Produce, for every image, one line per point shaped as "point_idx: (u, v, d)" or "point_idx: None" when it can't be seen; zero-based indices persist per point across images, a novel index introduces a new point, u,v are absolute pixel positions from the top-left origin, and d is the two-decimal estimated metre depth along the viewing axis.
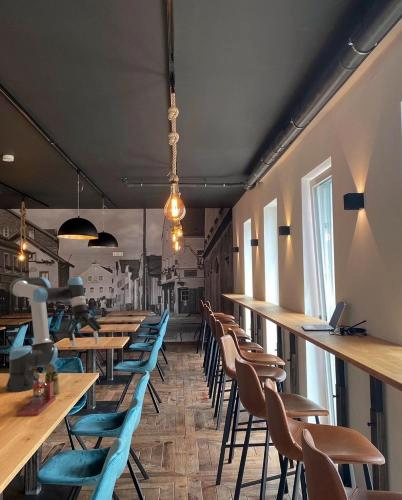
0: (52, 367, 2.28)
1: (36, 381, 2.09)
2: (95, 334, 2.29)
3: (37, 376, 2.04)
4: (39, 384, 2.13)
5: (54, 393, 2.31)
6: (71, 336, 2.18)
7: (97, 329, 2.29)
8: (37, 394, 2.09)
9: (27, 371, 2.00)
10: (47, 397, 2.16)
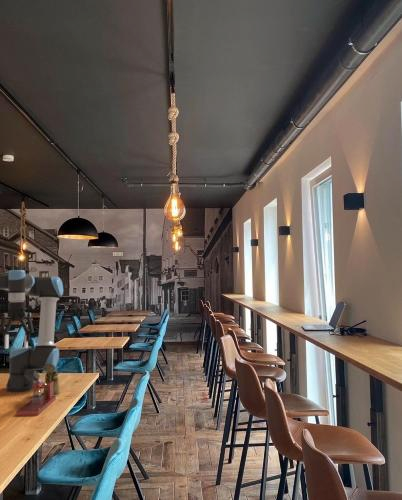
0: (52, 367, 2.28)
1: (36, 381, 2.09)
2: None
3: (37, 376, 2.04)
4: (39, 384, 2.13)
5: (54, 393, 2.31)
6: (4, 337, 2.07)
7: (26, 333, 2.07)
8: (37, 394, 2.09)
9: (27, 371, 2.00)
10: (47, 397, 2.16)
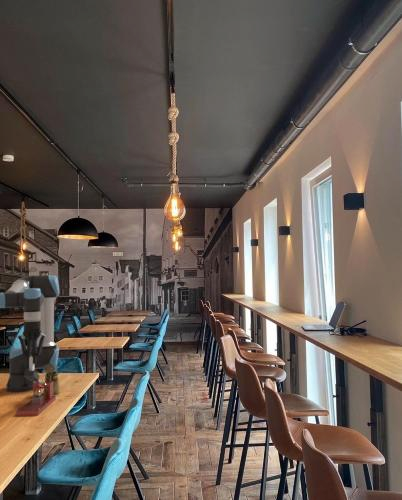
0: (52, 367, 2.28)
1: (36, 381, 2.09)
2: None
3: (37, 376, 2.04)
4: (39, 384, 2.13)
5: (54, 393, 2.31)
6: (28, 359, 2.03)
7: (33, 355, 2.02)
8: (37, 394, 2.09)
9: (27, 371, 2.00)
10: (47, 397, 2.16)
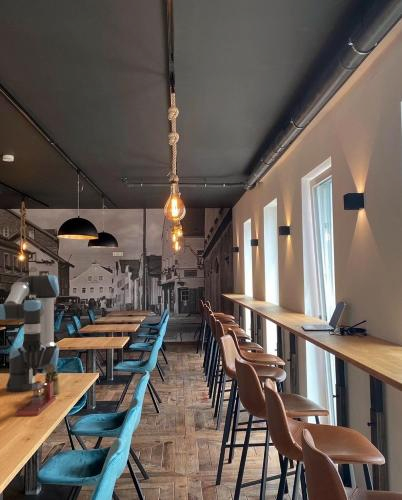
0: (52, 367, 2.28)
1: None
2: None
3: (36, 386, 2.02)
4: None
5: (54, 393, 2.31)
6: (28, 372, 2.02)
7: (33, 367, 2.02)
8: (37, 394, 2.09)
9: (25, 385, 1.97)
10: (47, 397, 2.16)
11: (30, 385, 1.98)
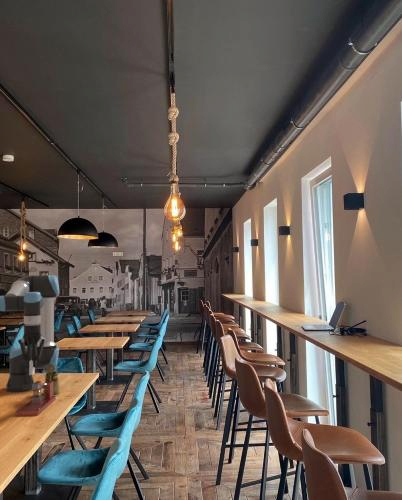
0: (52, 367, 2.28)
1: None
2: None
3: (36, 386, 2.02)
4: None
5: (54, 393, 2.31)
6: (28, 363, 2.03)
7: (33, 359, 2.03)
8: (37, 394, 2.09)
9: (25, 385, 1.97)
10: (47, 397, 2.16)
11: (30, 385, 1.97)
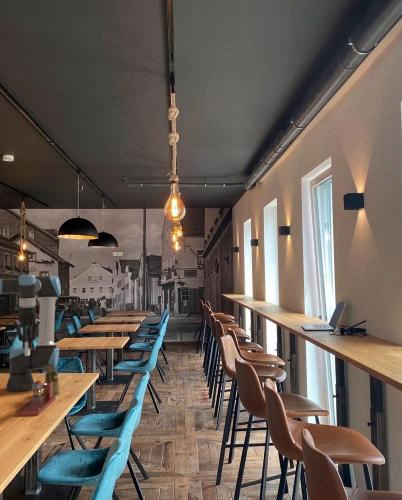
0: (52, 367, 2.28)
1: None
2: None
3: (36, 386, 2.02)
4: None
5: (54, 393, 2.31)
6: (24, 344, 2.07)
7: (28, 340, 2.07)
8: (37, 394, 2.09)
9: (25, 385, 1.97)
10: (47, 397, 2.16)
11: (30, 385, 1.97)
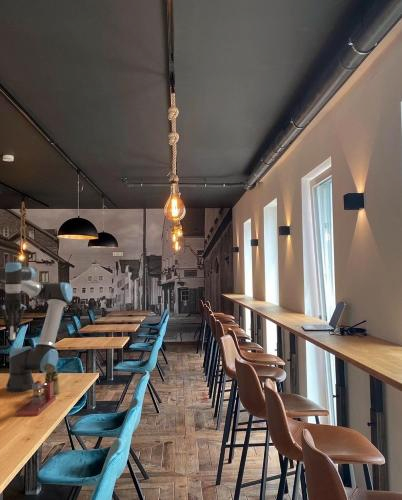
0: (52, 367, 2.28)
1: None
2: None
3: (36, 386, 2.02)
4: None
5: (54, 393, 2.31)
6: (9, 328, 2.17)
7: (14, 325, 2.17)
8: (37, 394, 2.09)
9: (25, 385, 1.97)
10: (47, 397, 2.16)
11: (30, 385, 1.97)
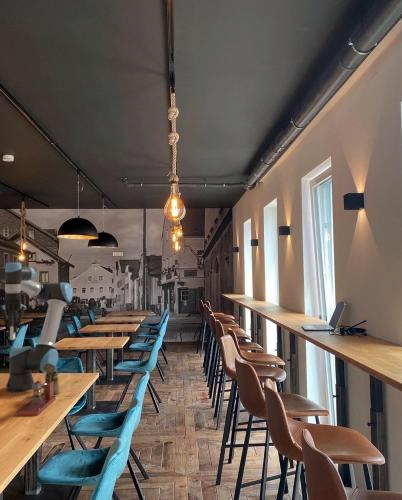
0: (52, 367, 2.28)
1: None
2: None
3: (36, 386, 2.02)
4: None
5: (54, 393, 2.31)
6: (9, 328, 2.17)
7: (14, 325, 2.17)
8: (37, 394, 2.09)
9: (25, 385, 1.97)
10: (47, 397, 2.16)
11: (30, 385, 1.97)
